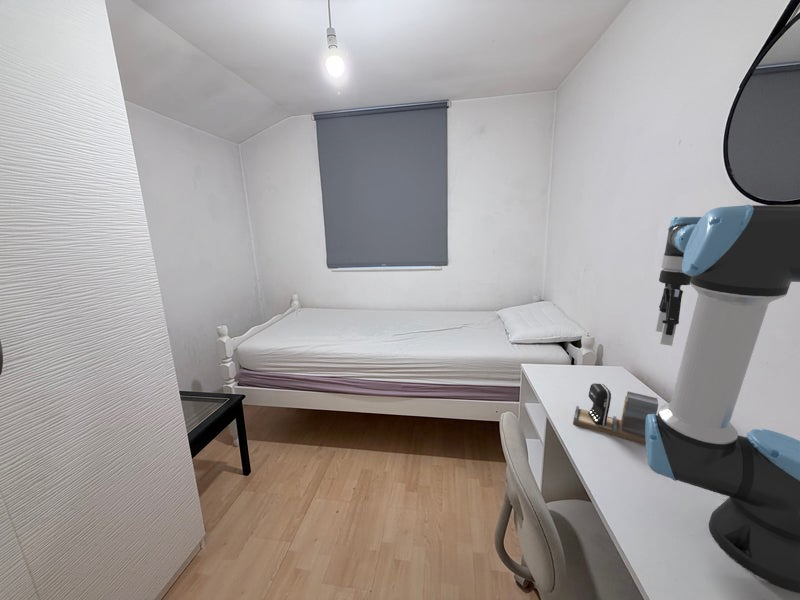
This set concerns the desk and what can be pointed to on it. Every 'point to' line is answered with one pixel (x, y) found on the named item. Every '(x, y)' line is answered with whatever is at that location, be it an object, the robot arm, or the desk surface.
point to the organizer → (623, 418)
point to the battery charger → (599, 403)
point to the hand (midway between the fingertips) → (663, 337)
